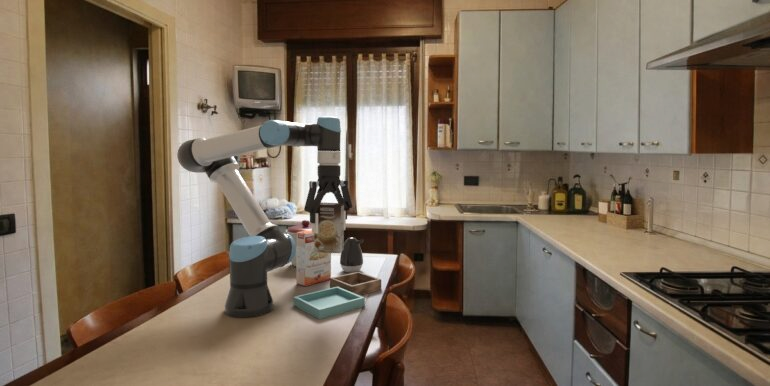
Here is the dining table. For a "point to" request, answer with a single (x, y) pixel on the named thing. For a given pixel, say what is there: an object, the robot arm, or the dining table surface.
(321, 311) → the tray
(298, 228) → the canister
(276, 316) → the dining table surface
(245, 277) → the robot arm
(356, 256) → the pump dispenser
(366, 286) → the holder
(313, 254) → the cracker box
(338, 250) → the coffee box
